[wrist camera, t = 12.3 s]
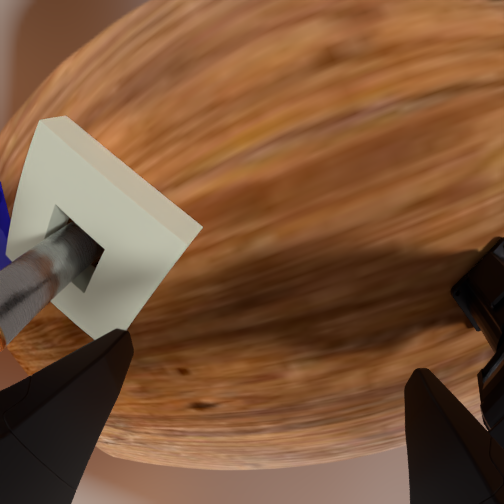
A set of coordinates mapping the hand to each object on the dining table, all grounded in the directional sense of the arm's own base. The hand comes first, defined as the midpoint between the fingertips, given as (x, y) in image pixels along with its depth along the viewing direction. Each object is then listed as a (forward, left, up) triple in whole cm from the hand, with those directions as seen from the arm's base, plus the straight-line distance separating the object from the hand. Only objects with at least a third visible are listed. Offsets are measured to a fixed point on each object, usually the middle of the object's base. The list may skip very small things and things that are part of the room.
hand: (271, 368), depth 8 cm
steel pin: (+11, +11, -12) cm, 20 cm away
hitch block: (+11, +11, -12) cm, 20 cm away
